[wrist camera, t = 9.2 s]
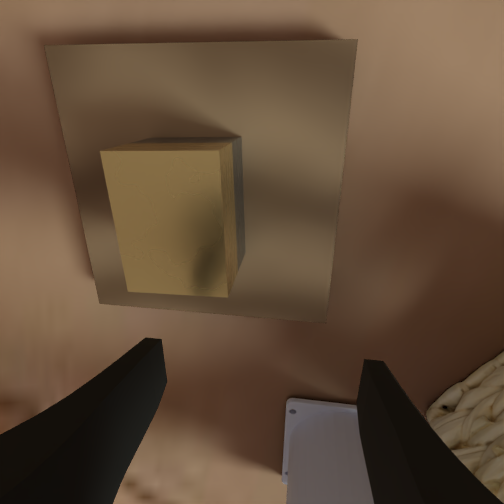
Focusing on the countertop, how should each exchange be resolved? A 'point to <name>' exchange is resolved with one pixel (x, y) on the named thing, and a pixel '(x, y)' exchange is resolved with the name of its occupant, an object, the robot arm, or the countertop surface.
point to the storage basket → (475, 423)
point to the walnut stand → (220, 125)
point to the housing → (178, 213)
